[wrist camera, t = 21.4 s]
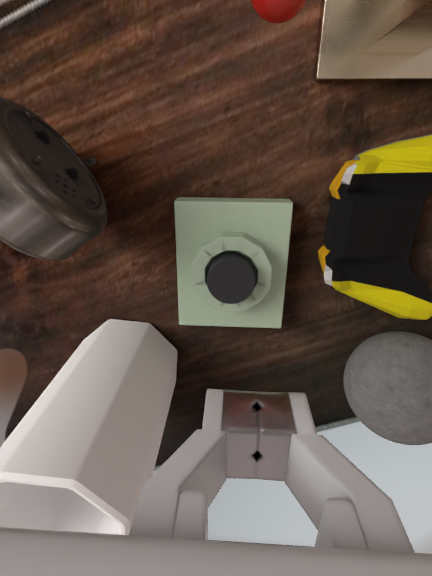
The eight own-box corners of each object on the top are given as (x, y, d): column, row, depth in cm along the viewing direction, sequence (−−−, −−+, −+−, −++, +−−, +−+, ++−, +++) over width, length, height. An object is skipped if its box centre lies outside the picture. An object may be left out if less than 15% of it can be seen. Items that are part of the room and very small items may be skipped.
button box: (178, 197, 30) (170, 204, 27) (289, 198, 30) (297, 206, 26) (182, 314, 35) (176, 334, 31) (278, 317, 35) (283, 338, 31)
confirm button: (208, 252, 29) (206, 258, 27) (255, 253, 28) (256, 259, 27) (208, 294, 30) (206, 303, 29) (253, 296, 30) (254, 304, 28)
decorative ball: (350, 304, 34) (393, 364, 24) (446, 323, 34) (524, 389, 25) (319, 382, 38) (346, 460, 28) (406, 399, 38) (460, 480, 29)
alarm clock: (11, 135, 29) (-224, 125, 14) (55, 95, 28) (-154, 37, 13) (95, 238, 32) (-24, 319, 17) (138, 207, 31) (49, 265, 16)
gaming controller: (461, 134, 27) (337, 128, 28) (512, 132, 22) (360, 124, 22) (410, 301, 33) (308, 294, 33) (441, 329, 28) (321, 321, 28)
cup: (156, 413, 41) (100, 606, 24) (69, 375, 39) (-59, 553, 22) (197, 344, 36) (163, 519, 19) (101, 299, 35) (-27, 446, 18)
